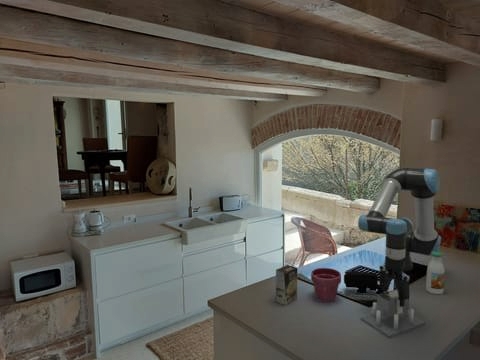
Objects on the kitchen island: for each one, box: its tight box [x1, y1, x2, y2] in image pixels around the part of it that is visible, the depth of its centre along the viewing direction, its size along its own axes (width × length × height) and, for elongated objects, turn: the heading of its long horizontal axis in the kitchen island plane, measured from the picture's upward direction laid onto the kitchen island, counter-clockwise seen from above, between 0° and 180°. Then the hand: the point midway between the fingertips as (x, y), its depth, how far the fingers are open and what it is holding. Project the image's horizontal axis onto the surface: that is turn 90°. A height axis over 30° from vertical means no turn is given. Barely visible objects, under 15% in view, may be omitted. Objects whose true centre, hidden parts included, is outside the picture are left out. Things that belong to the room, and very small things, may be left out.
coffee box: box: [275, 264, 298, 306], centre depth 167 cm, size 9×6×16 cm
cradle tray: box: [360, 301, 426, 339], centre depth 147 cm, size 21×15×7 cm
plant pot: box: [310, 267, 342, 303], centre depth 168 cm, size 14×14×13 cm
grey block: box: [376, 288, 410, 317], centre depth 146 cm, size 12×6×7 cm, turn 115°
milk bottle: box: [425, 251, 446, 295], centre depth 172 cm, size 8×8×20 cm
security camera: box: [343, 270, 383, 296], centre depth 173 cm, size 7×18×10 cm, turn 78°
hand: (392, 309), depth 146 cm, fingers closed on grey block, 6 cm apart
